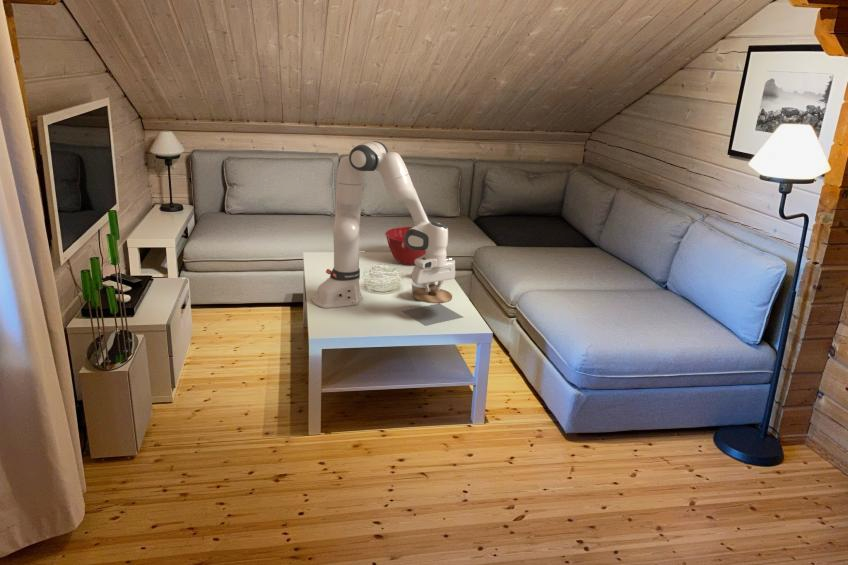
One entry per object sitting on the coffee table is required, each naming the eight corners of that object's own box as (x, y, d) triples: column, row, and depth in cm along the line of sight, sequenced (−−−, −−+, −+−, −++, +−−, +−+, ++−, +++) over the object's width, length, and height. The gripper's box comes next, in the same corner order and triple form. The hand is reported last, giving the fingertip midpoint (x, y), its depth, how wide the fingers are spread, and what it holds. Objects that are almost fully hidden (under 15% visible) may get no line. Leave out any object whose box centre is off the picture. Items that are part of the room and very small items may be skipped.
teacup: (432, 304, 299) (433, 287, 297) (408, 301, 301) (409, 285, 298) (437, 294, 312) (438, 278, 309) (415, 291, 314) (415, 275, 311)
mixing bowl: (433, 272, 342) (435, 243, 337) (379, 266, 346) (380, 238, 341) (440, 256, 369) (442, 229, 363) (390, 251, 372) (391, 224, 367)
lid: (426, 305, 273) (427, 294, 272) (404, 292, 286) (405, 281, 285) (460, 300, 283) (461, 289, 281) (437, 287, 296) (438, 276, 294)
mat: (425, 326, 275) (425, 325, 275) (402, 311, 289) (402, 311, 289) (463, 318, 286) (463, 317, 286) (439, 304, 300) (439, 303, 300)
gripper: (451, 255, 287) (448, 285, 292) (411, 260, 276) (408, 291, 281) (459, 259, 283) (456, 290, 287) (419, 264, 271) (416, 296, 276)
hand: (432, 291), depth 284 cm, fingers closed on lid, 3 cm apart
